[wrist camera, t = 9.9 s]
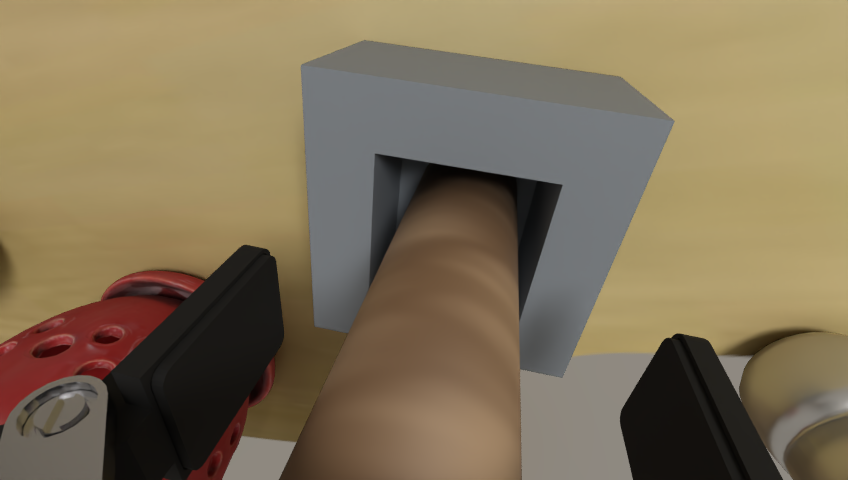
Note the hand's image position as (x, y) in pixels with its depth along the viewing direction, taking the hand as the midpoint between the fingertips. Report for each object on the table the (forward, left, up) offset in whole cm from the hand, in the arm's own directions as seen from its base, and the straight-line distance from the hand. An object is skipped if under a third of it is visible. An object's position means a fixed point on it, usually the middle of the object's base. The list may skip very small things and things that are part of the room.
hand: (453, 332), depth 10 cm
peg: (0, 0, -9) cm, 9 cm away
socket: (0, 0, -10) cm, 10 cm away
